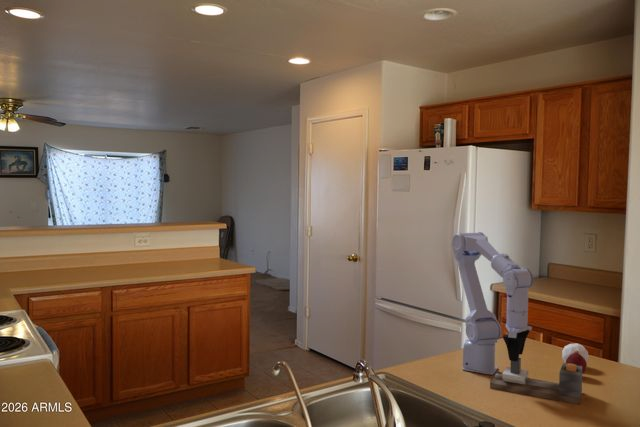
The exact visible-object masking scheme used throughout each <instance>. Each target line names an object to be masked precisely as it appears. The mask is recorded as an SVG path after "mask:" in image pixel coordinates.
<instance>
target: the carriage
mask: <svg viewBox="0 0 640 427" xmlns="http://www.w3.org/2000/svg"><path fill="white" fill-rule="evenodd" d="M521 362H522V358H521V357H519V358H518V361H510V367H509V366H506V368H505V369H504V371H503V372H502V378H503V381H507V382H513V383H519V384H524V385H525V384H526V378H529V377H528V375H529V370H527V369H522V367H521V366H522V363H521Z"/></svg>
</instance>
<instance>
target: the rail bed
mask: <svg viewBox="0 0 640 427" xmlns="http://www.w3.org/2000/svg"><path fill="white" fill-rule="evenodd" d="M502 373H503V372H502ZM502 373H501V372H496V373H494V376H493V378H492V380H491V381H490V382H489V388H490V389H494V390H498V391H499V390H500V391H505V392H510V393H515V394H522V395H526V396H531V397H537V398H542V399H548V400H552V401H559V402H565V403H570V404H574V405H580V401H581V397H582V394H583V393H582V391H583V387H582V386H583V373H582V366H577V369H576V372H574V371H568V370H566V363H565V362H564V363H562V364H561V366H560V370H559V382H553V381H547V380H542V379H535V378H530V377H528V378H526V384H525V385H524V384H519V383H513V382H507V381H503V378H502Z"/></svg>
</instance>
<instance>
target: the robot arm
mask: <svg viewBox="0 0 640 427" xmlns="http://www.w3.org/2000/svg"><path fill="white" fill-rule="evenodd" d="M450 245H451V247H452V252H453V254H454V255H453V256H454V259H455V260H456V263H457V267H458V270H459V275H460V278H461V282H462V286H463V290H464V293H465V297H466V301H467V305H468V308H469V312H470V313H469V314H468V315H467V317H466V318H465V319H464V323H465V335H466V337H467V339H465V340H464V343H463V348H462V368H461V370H463V371H466V372H467V371H468V372H473V373H474V372H475V373H479V374H485V375H488V376H489V375H491V376H493V375H495V374H496V373H495V372H497V370H498V369H499V367H498V366H497V365H496V364H495V363H496V361H495V360H496V343H498V340H499V339H500V338H501V336H502V339H503V341H504V344H505V345H506V349H507V350H506V351H507V353H508V359H509V361H510V362H511V361H518V358H520V355H522V354H523V352H524V350H525V349H524V348H525V344H526V340H527V337H528V336H529V334H530V331H532V329H533V326H529V325H528V321H529V320H528V319H529V318H528V317H529V314H528V313H529V288H531V287H532V286H533V283H534V274H533V273H532V271H531V270H530V268H528V267H522V266H520V265H519V264H518V263H517V262H515V261H514V260H513V259H512V258H510V256H509V254H508V253H499V251H498V250H497V249H495V247H494V246H493V245H492V244H491V243H490V242H489V238H488V236H487V235H485V233H484V232H481V231H478V232H459V231H458V232H456V233H455V234H454V235H453V237H452V240H451V244H450ZM481 256H483V257H484V258H485V259H487V260H488V261H489V262H490V266H491V268H492V270H494V271H495V272H496V273H497V274H498V276H499V277H501V278H502V282H503V286H504V288H505V289H504V291H505V294H506V323H505V328H506V330H507V331H508V334H505V333H504V334H503V335H502V332H503V331H502V326H501V324H500V323H499V321H498V318H497V316H496V314H495V313H493V312H492V311H490V310H489V309H488V307H487V304H486V303H487V302H486V299H485V297H484V296H485V295H484V293H483V289H482V284H481V282H480V279H479V275H478V272H477V268H476V264H475V263H476V261H478V260H479V259H480V258H481Z"/></svg>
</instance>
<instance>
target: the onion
mask: <svg viewBox="0 0 640 427" xmlns="http://www.w3.org/2000/svg"><path fill="white" fill-rule="evenodd" d="M568 363H570V364H575V365H577V366H582V374H584V373H585V371H586V370H587V367H588V365H587V363H588V362H587V363H586V360H585V359H584V358H583V357H582V356H581V355H580V354H579V353H578V351H577V350H576V351H575V352H574V353H573V354H571V355H570V356H569V357H568V358H567V360H566V363H565V364H568Z"/></svg>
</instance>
